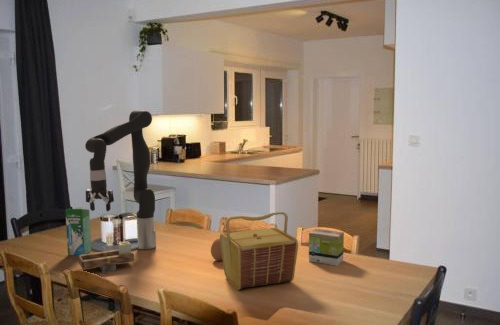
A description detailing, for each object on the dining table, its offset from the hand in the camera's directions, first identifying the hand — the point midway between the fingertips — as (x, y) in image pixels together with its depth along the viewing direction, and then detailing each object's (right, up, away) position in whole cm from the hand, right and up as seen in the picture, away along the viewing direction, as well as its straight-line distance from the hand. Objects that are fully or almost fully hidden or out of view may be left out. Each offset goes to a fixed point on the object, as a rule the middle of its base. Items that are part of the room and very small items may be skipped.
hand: (100, 210), depth 241 cm
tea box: (+113, -25, -2) cm, 115 cm away
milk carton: (-16, -25, +17) cm, 34 cm away
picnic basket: (+78, -29, -27) cm, 88 cm away
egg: (+59, -25, +1) cm, 64 cm away
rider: (+13, -22, -4) cm, 26 cm away
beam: (+5, -27, -7) cm, 28 cm away
